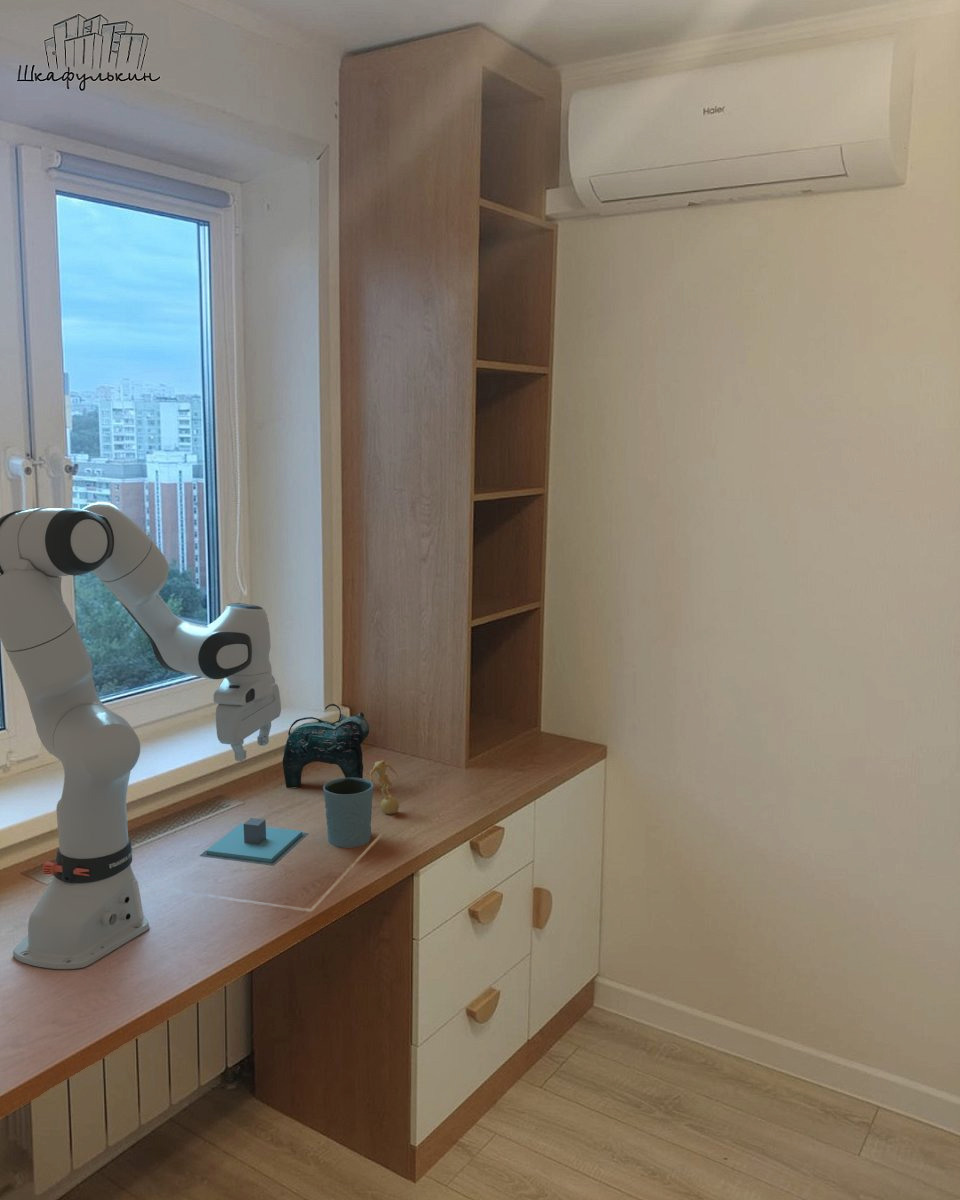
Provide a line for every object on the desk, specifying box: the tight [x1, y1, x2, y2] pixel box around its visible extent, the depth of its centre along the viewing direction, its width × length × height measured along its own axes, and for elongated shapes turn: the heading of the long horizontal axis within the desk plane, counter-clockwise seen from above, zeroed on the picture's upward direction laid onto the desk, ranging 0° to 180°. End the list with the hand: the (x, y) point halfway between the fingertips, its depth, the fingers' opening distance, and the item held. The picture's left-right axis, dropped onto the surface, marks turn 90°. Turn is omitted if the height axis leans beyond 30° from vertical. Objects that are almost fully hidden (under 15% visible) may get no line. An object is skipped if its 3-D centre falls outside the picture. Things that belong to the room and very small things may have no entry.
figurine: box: [369, 759, 400, 816], centre depth 232 cm, size 8×6×12 cm
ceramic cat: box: [282, 703, 370, 788], centre depth 247 cm, size 20×6×20 cm, turn 84°
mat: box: [199, 826, 309, 867], centre depth 215 cm, size 16×16×1 cm
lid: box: [205, 817, 303, 863], centre depth 215 cm, size 14×14×5 cm
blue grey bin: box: [322, 777, 374, 849], centre depth 217 cm, size 10×10×12 cm
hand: (252, 752), depth 212 cm, fingers open, 8 cm apart
